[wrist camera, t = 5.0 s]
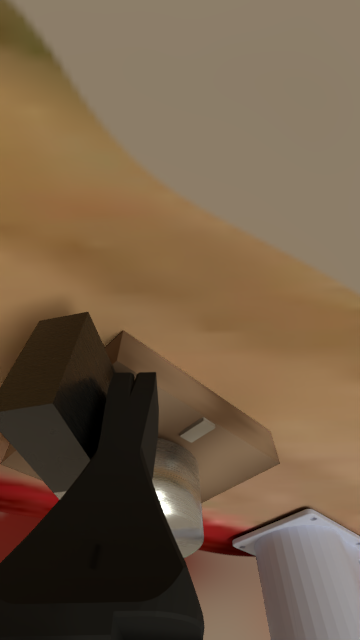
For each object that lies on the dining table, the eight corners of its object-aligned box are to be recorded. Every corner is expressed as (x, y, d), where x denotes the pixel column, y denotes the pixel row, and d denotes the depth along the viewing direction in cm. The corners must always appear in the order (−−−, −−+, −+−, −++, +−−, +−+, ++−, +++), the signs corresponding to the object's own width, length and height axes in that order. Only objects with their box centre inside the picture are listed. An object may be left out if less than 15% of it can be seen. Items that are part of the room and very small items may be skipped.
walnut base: (270, 431, 19) (280, 466, 17) (158, 494, 23) (157, 528, 21) (123, 330, 14) (116, 363, 13) (15, 431, 18) (-2, 467, 17)
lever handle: (207, 490, 18) (214, 584, 15) (106, 502, 19) (91, 596, 15) (147, 300, 11) (134, 399, 7) (-16, 331, 11) (-100, 436, 8)
